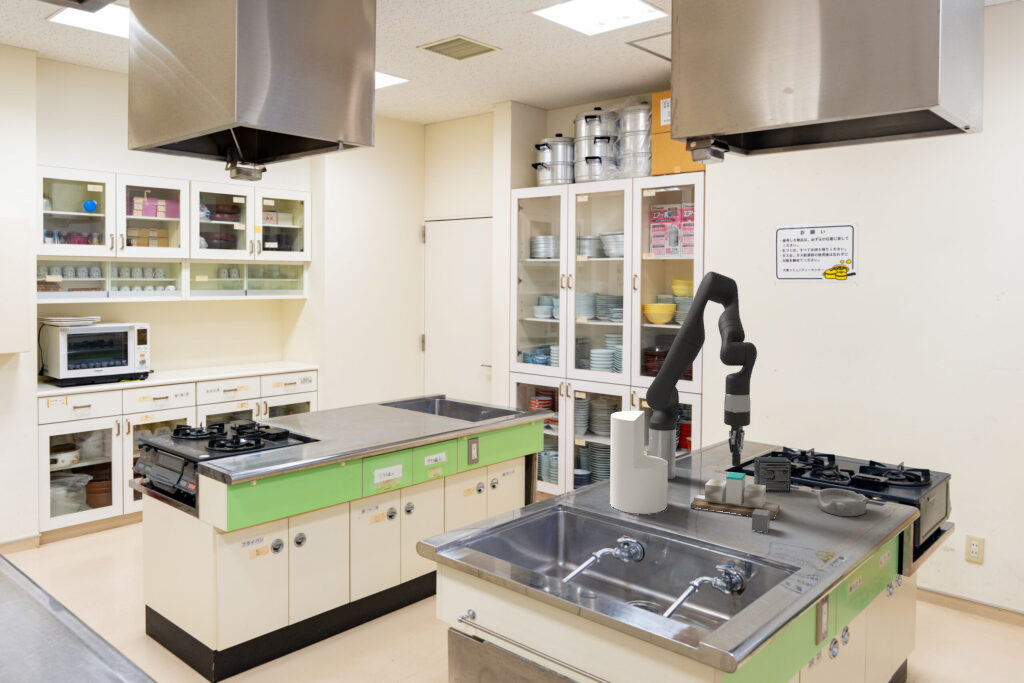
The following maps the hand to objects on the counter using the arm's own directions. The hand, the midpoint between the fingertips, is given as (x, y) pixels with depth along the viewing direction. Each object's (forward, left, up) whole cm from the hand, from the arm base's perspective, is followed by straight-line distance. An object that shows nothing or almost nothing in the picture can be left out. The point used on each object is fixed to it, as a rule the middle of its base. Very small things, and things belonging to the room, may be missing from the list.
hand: (736, 465), depth 226 cm
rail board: (0, 0, -13) cm, 13 cm away
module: (0, 0, -11) cm, 11 cm away
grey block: (+10, -16, -13) cm, 23 cm away
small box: (+7, +26, -14) cm, 30 cm away
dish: (+29, +13, -14) cm, 34 cm away
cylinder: (-27, -10, -14) cm, 32 cm away
